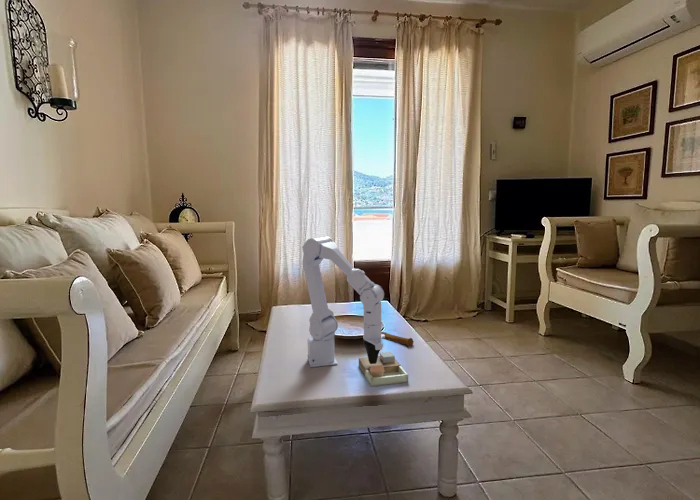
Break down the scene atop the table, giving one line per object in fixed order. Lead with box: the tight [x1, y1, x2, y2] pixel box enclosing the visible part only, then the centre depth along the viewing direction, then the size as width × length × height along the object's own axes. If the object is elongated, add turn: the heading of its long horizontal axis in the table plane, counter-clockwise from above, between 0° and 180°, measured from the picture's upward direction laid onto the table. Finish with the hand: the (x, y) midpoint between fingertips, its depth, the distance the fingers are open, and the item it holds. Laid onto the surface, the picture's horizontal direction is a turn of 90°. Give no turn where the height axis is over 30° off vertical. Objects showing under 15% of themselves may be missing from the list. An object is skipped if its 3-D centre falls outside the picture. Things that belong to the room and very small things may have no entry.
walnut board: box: [358, 355, 402, 376], centre depth 133 cm, size 12×9×3 cm
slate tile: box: [379, 351, 396, 363], centre depth 134 cm, size 4×4×2 cm
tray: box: [364, 365, 409, 387], centre depth 125 cm, size 12×7×2 cm, turn 103°
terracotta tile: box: [369, 365, 385, 378], centre depth 125 cm, size 4×4×2 cm
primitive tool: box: [381, 331, 415, 348], centre depth 161 cm, size 19×6×4 cm, turn 43°
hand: (372, 363), depth 130 cm, fingers closed
